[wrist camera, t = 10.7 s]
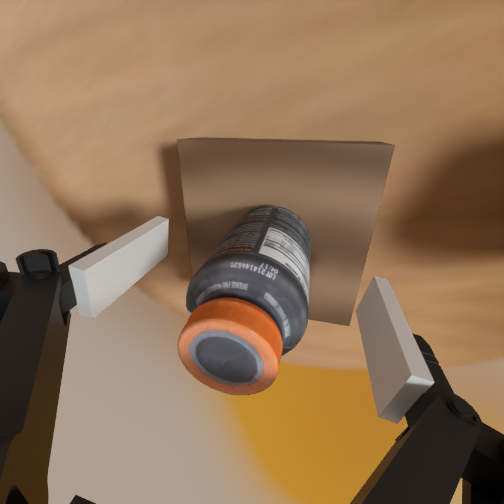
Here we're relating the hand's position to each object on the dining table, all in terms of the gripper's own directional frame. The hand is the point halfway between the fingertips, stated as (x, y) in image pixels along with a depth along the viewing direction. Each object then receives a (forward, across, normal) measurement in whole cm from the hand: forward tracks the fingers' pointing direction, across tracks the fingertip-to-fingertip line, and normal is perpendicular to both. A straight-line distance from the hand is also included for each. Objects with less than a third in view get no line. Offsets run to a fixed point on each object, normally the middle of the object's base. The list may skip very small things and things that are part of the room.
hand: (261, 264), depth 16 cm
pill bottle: (+4, 0, 0) cm, 4 cm away
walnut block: (+8, 0, 0) cm, 8 cm away
